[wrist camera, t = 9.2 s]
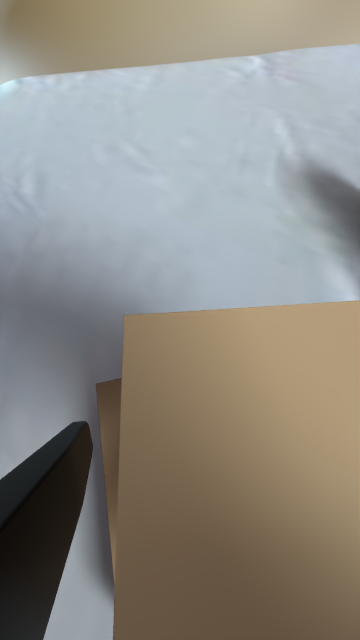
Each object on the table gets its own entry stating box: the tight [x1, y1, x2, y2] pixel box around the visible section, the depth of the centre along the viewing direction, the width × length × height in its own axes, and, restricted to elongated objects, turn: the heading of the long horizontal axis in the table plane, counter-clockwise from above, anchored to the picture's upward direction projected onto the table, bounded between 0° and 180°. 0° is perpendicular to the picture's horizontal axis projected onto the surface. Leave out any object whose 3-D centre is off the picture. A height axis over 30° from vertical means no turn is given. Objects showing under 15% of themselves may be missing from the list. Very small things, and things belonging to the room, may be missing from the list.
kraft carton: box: [113, 301, 360, 640], centre depth 10 cm, size 5×5×13 cm
